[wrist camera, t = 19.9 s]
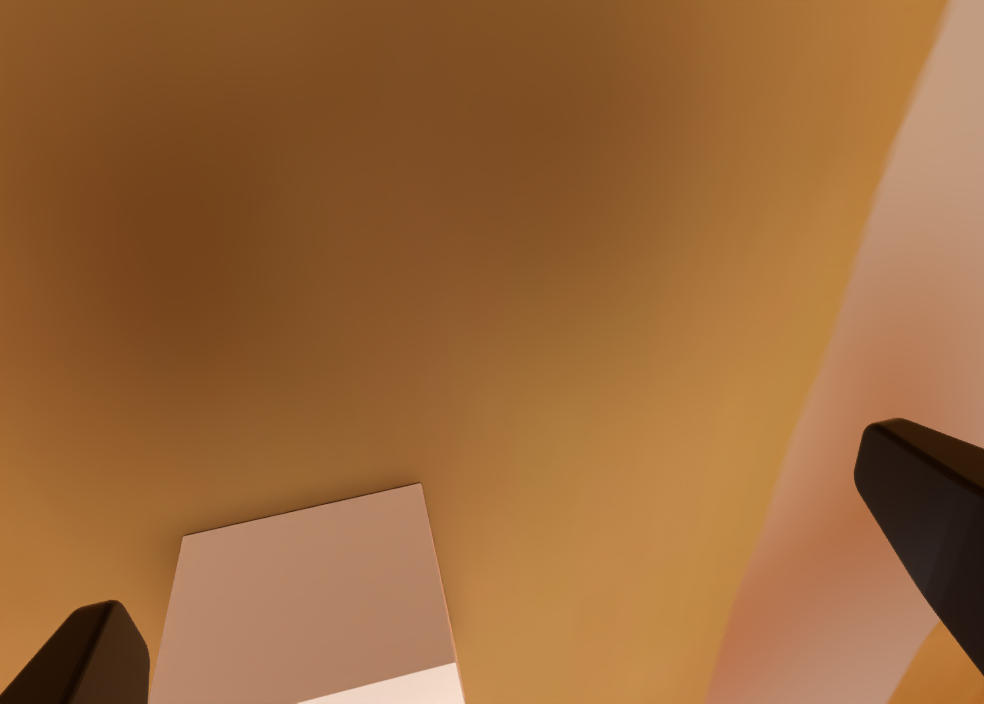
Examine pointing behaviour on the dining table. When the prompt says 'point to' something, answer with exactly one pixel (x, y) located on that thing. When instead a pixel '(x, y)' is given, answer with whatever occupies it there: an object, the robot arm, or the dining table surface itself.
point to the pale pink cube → (312, 610)
